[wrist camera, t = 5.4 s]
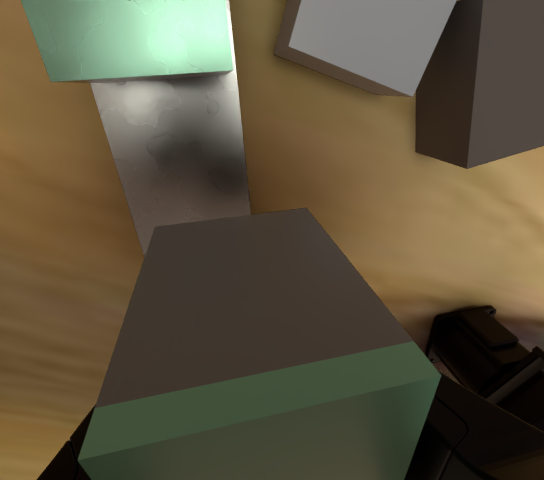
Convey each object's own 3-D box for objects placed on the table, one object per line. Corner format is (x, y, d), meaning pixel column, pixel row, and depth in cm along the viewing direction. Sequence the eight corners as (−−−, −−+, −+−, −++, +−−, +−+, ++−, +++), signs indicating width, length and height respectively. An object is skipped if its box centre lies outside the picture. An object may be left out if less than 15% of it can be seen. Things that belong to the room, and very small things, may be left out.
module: (304, 344, 12) (381, 542, 7) (192, 366, 11) (182, 607, 6) (306, 207, 9) (441, 375, 4) (154, 226, 8) (77, 460, 3)
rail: (259, 315, 25) (275, 390, 19) (175, 330, 24) (163, 413, 18) (221, -42, 14) (229, -139, 8) (67, -40, 13) (-56, -147, 7)
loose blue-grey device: (375, 94, 19) (412, 97, 15) (272, 54, 17) (288, 46, 13) (413, 1, 17) (465, -21, 13) (302, -57, 15) (329, -101, 11)
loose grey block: (491, 128, 21) (563, 139, 17) (413, 151, 21) (466, 168, 17) (509, -10, 17) (608, -42, 13) (414, 15, 17) (484, -9, 13)
